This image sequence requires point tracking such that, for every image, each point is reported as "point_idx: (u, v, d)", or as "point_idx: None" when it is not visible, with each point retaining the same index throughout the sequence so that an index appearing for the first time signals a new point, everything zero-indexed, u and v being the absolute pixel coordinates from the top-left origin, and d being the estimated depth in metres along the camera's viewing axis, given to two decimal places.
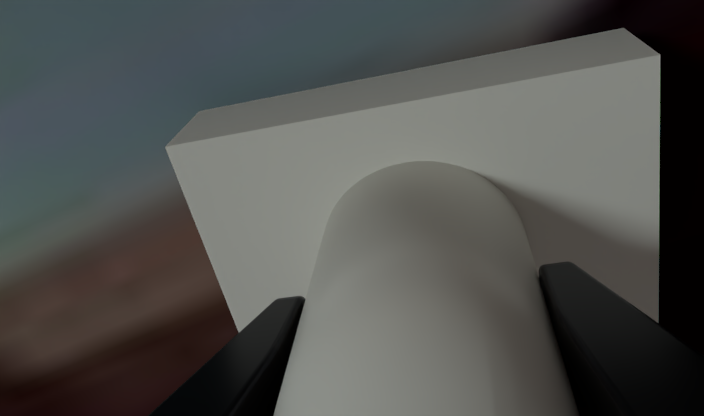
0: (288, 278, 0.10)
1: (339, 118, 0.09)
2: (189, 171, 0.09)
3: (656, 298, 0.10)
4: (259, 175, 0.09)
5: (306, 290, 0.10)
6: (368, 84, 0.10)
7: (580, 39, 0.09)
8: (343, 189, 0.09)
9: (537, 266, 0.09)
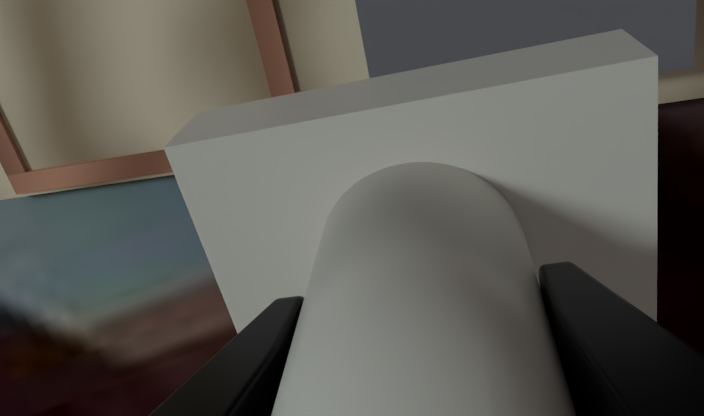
0: (287, 278, 0.10)
1: (337, 119, 0.09)
2: (188, 172, 0.09)
3: (655, 299, 0.10)
4: (257, 176, 0.09)
5: (305, 291, 0.10)
6: (367, 85, 0.10)
7: (578, 40, 0.09)
8: (341, 190, 0.09)
9: (535, 267, 0.09)
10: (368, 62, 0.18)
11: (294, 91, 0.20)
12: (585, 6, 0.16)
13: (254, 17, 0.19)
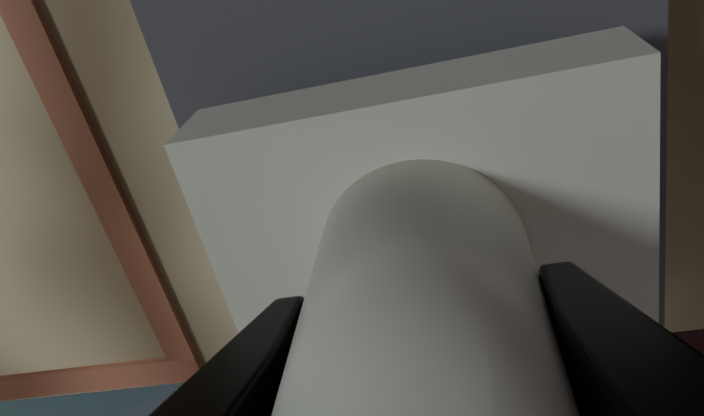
0: (287, 276, 0.10)
1: (338, 116, 0.09)
2: (188, 169, 0.09)
3: (657, 296, 0.10)
4: (258, 173, 0.09)
5: (305, 289, 0.10)
6: (368, 82, 0.10)
7: (580, 37, 0.09)
8: (342, 187, 0.09)
9: (537, 265, 0.09)
10: None
11: (177, 319, 0.16)
12: None
13: (117, 244, 0.15)
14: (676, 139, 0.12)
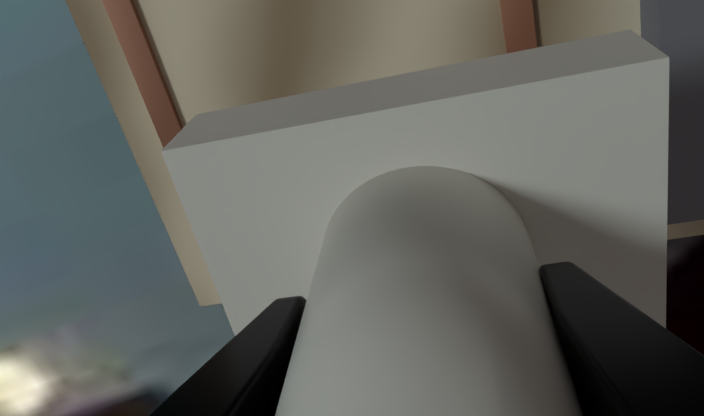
0: (288, 284, 0.10)
1: (339, 122, 0.08)
2: (186, 176, 0.09)
3: (663, 305, 0.09)
4: (257, 180, 0.09)
5: (305, 297, 0.10)
6: (369, 87, 0.09)
7: (586, 41, 0.09)
8: (343, 194, 0.09)
9: None
10: None
11: None
12: None
13: None
14: None
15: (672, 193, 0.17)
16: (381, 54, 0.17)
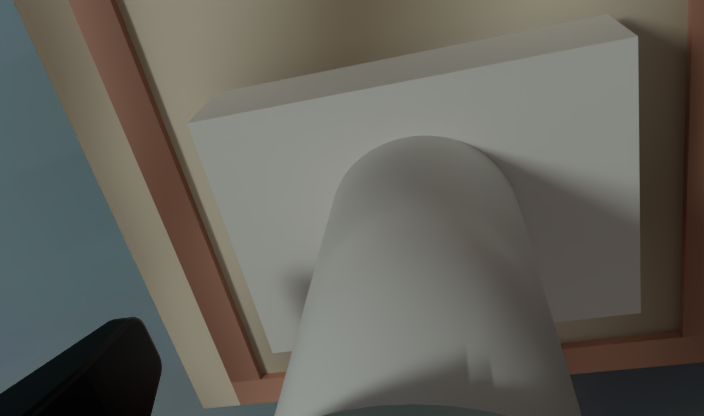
0: (299, 246, 0.11)
1: (347, 96, 0.09)
2: (209, 146, 0.10)
3: (638, 263, 0.10)
4: (273, 149, 0.10)
5: (315, 258, 0.11)
6: (373, 66, 0.10)
7: (567, 24, 0.10)
8: (350, 162, 0.10)
9: (528, 233, 0.10)
10: None
11: None
12: None
13: (694, 182, 0.12)
14: None
15: None
16: None
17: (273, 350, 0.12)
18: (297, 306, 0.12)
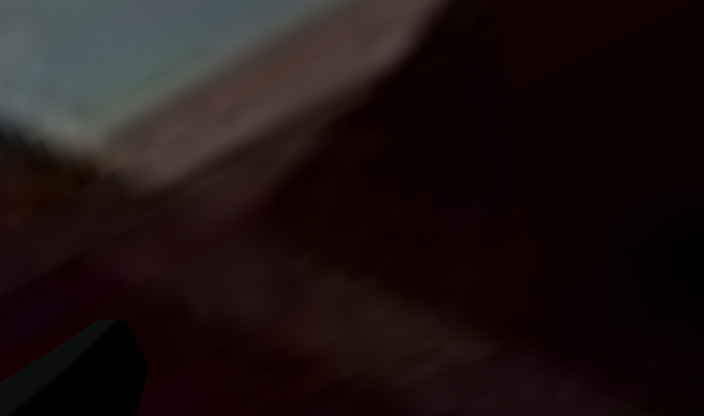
0: None
1: None
2: None
3: None
4: None
5: None
6: None
7: None
8: None
9: None
10: None
11: None
12: None
13: None
14: None
15: None
16: None
17: None
18: None
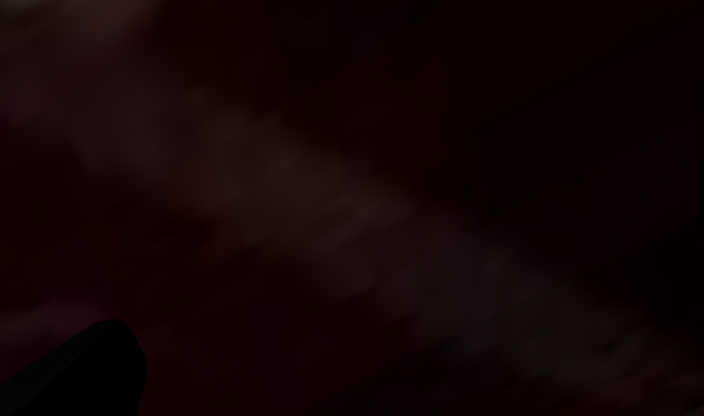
0: None
1: None
2: None
3: None
4: None
5: None
6: None
7: None
8: None
9: None
10: None
11: None
12: None
13: None
14: None
15: None
16: None
17: None
18: None
